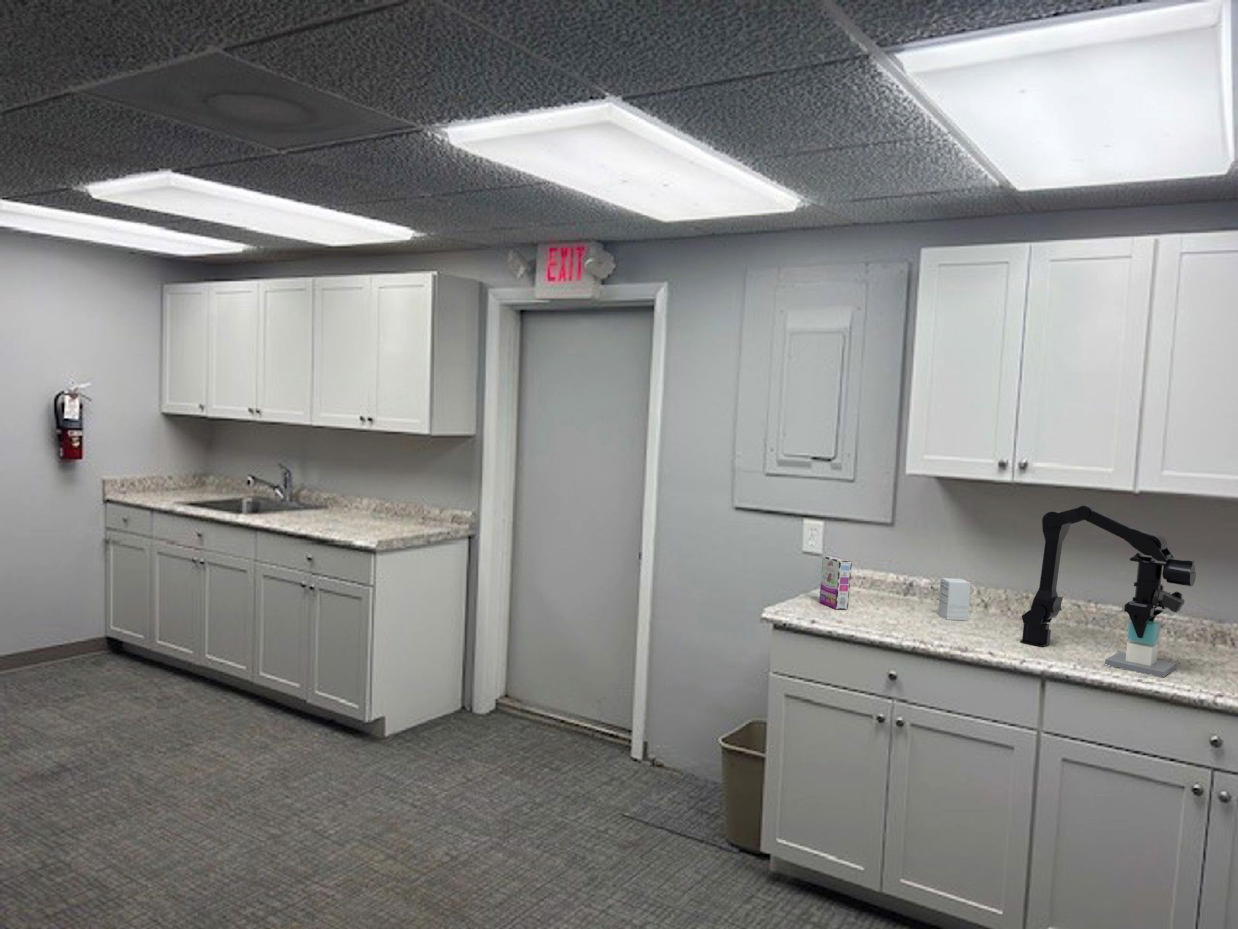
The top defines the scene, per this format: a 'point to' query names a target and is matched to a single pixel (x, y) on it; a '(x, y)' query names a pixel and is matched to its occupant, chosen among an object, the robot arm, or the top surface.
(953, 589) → the supplement box
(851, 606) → the top surface
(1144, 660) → the cream brick
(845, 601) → the candy bar box
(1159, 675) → the baseplate
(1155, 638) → the teal brick
